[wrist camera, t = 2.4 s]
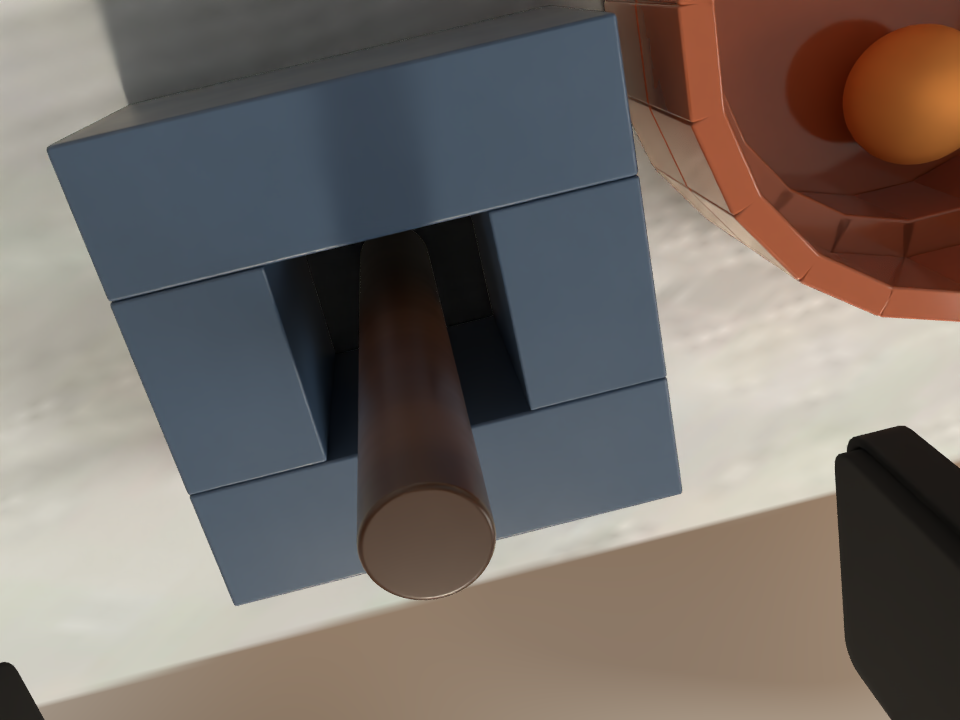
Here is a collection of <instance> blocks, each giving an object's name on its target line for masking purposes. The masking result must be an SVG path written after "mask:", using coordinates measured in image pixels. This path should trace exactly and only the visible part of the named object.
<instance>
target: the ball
mask: <svg viewBox="0 0 960 720" xmlns="http://www.w3.org/2000/svg"><path fill="white" fill-rule="evenodd" d="M843 113H844V118H845V122H846V125H847V127H848V130H849V131H850V133H851V135H852V137H853V138H854V140H855V141H856V142H857V143H858V144H859V145H860V146H861V147H862V148H863V149H864V150H865V151H866V152H868V153H869V154H871V155H872V156H874V157H876V158H879V159H881V160H883V161H886V162H890V163H894V164H902V165H914V164H923V163H928V162H931V161H935V160H938V159H940V158H942V157H945V156H947V155H949V154H950V153H952V152H954V151H956V150H957V149H959V148H960V31H958V30H956V29H954V28H951V27H948V26H944V25H938V24H916V25H910V26H907V27H903V28H900V29H897V30H895V31H892V32H890V33H888V34H887V35H885V36H883V37H882V38H880V39H878V40H877V41H876V42H874V43H873V44H872V45H870V46H869V47H868V48H867V49H866V50H865V51H864V52H863V54H862V55H861V56H860V57H859V59H858V60H857V61H856V63H855V64H854V66H853V67H852V69H851V71H850V73H849V75H848V78H847V81H846V84H845V88H844V93H843Z"/></svg>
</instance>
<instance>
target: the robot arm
mask: <svg viewBox="0 0 960 720" xmlns="http://www.w3.org/2000/svg"><path fill="white" fill-rule="evenodd" d="M835 480H836V496H837V514H838V530H839V547H840V561H841V562H840V563H841V581H842V596H843V613H844V631H845V641H846V646H847V650H848V653H849V656H850V659H851V661H852V663H853V665H854V667H855V669H856V670H857V672H858V674H859V675H860V677H861V678H862V679H863V681H864V682H865V684H866V685H867V686H868V688H869V689H870V691H871V692H872V693H873V695H874V696H875V698H876V699H877V700H878V702H879V703H880V704H881V706H882V707H883V709H884V710H885V712H886V713H887V714H888V716H889V717H890V718H891V720H960V468H959V467H957V466H956V465H955V464H954V463H952V462H951V461H950V460H949V459H947V458H946V457H945V456H944V455H942V454H941V453H940V452H939V451H937V450H936V449H935V448H934V447H932V446H931V445H930V444H929V443H928V442H926V441H925V440H924V439H923V438H921V437H920V436H919V435H918V434H916V433H915V432H914V431H913V430H911V429H909V428H908V427H906V426H896V427H892V428H888V429H884V430H880V431H876V432H872V433H868V434H864V435H860V436H856V437H853V438H852V439H851V440H849V443H848V446H847V452H846V453H842V454H839V455H838V456H837V457H836V460H835ZM0 720H44V718H43V716H42V714H41V713H40V711H39V709H38V707H37V705H36V704H35V702H34V700H33V698H32V696H31V695H30V693H29V691H28V689H27V687H26V686H25V684H24V682H23V680H22V678H21V676H20V675H19V673H18V671H17V670H16V668H15V667H14V666H13V665H12V664H10V663H7V662H2V663H0Z"/></svg>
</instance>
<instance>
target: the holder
mask: <svg viewBox="0 0 960 720" xmlns="http://www.w3.org/2000/svg"><path fill="white" fill-rule="evenodd" d="M47 153H48V155H49V158H50V160H51V163H52V165H53V168H54V170H55V172H56V175H57V177H58V180H59V182H60V184H61V187H62V189H63V192H64V194H65V197H66V199H67V201H68V204H69V206H70V209H71V211H72V214H73V216H74V218H75V221H76V223H77V226H78V228H79V230H80V233H81V235H82V238H83V240H84V243H85V245H86V247H87V250H88V252H89V255H90V257H91V259H92V262H93V264H94V267H95V269H96V272H97V274H98V276H99V279H100V281H101V284H102V286H103V288H104V291H105V293H106V296H107V298H108V300H109V301H112V303H111V309H112V311H113V313H114V316H115V318H116V321H117V323H118V326H119V328H120V330H121V333H122V335H123V338H124V340H125V342H126V345H127V347H128V350H129V352H130V355H131V357H132V359H133V362H134V364H135V367H136V369H137V372H138V374H139V376H140V379H141V381H142V384H143V386H144V388H145V391H146V393H147V396H148V398H149V401H150V403H151V405H152V408H153V410H154V413H155V415H156V417H157V420H158V422H159V425H160V427H161V430H162V432H163V434H164V437H165V439H166V442H167V444H168V446H169V449H170V451H171V454H172V456H173V459H174V461H175V463H176V466H177V468H178V471H179V473H180V475H181V478H182V480H183V483H184V485H185V488H186V490H187V492H188V494H189V495H190V499H191V502H192V504H193V506H194V509H195V511H196V514H197V516H198V519H199V521H200V523H201V526H202V528H203V531H204V533H205V536H206V538H207V540H208V543H209V545H210V548H211V550H212V552H213V555H214V557H215V560H216V562H217V565H218V567H219V569H220V572H221V574H222V577H223V579H224V581H225V584H226V586H227V589H228V591H229V594H230V596H231V598H232V601H233V603H234V605H235V606H238V605H242V604H246V603H250V602H254V601H258V600H262V599H266V598H270V597H274V596H278V595H282V594H286V593H290V592H294V591H298V590H302V589H305V588H309V587H313V586H317V585H321V584H325V583H329V582H333V581H337V580H341V579H345V578H349V577H353V576H357V575H361V574H365V573H366V571H365V570H364V568H363V566H362V564H361V562H360V560H359V556H358V552H357V470H358V384H359V349H355V350H351V351H347V352H343V353H339V354H335V350H334V347H333V343H332V340H331V337H330V334H329V330H328V327H327V324H326V321H325V317H324V314H323V311H322V308H321V304H320V301H319V298H318V295H317V291H316V288H315V285H314V282H313V278H312V275H311V272H310V269H309V265H308V262H307V259H306V256H305V255H308V254H313V253H317V252H321V251H325V250H329V249H333V248H337V247H342V246H346V245H350V244H354V243H358V242H362V241H366V240H370V239H375V238H379V237H383V236H387V235H391V234H395V233H399V232H403V231H408V230H412V229H416V228H420V227H424V226H428V225H432V224H437V223H441V222H445V221H449V220H453V219H457V218H461V217H465V216H470V215H471V219H472V223H473V228H474V232H475V237H476V241H477V246H478V250H479V255H480V259H481V264H482V268H483V273H484V277H485V282H486V286H487V291H488V295H489V300H490V304H491V309H492V313H493V316H490V317H486V318H482V319H478V320H474V321H469V322H465V323H461V324H457V325H453V326H449V327H447V331H448V335H449V339H450V343H451V347H452V351H453V356H454V360H455V364H456V368H457V372H458V376H459V380H460V384H461V388H462V392H463V397H464V401H465V405H466V409H467V413H468V417H469V421H470V425H471V429H472V433H473V437H474V442H475V446H476V450H477V454H478V458H479V462H480V466H481V470H482V474H483V478H484V483H485V487H486V491H487V495H488V499H489V503H490V507H491V511H492V515H493V519H494V524H495V529H496V540H500V539H503V538H507V537H511V536H515V535H519V534H523V533H527V532H531V531H535V530H539V529H543V528H547V527H551V526H555V525H559V524H563V523H567V522H571V521H575V520H579V519H583V518H587V517H591V516H595V515H599V514H603V513H606V512H610V511H614V510H618V509H622V508H626V507H630V506H634V505H638V504H642V503H646V502H650V501H654V500H658V499H662V498H666V497H670V496H674V495H678V494H681V493H682V484H681V477H680V470H679V463H678V455H677V448H676V441H675V434H674V427H673V419H672V412H671V405H670V398H669V390H668V383H667V379H666V367H665V360H664V353H663V345H662V338H661V331H660V324H659V317H658V309H657V302H656V295H655V288H654V280H653V273H652V266H651V259H650V252H649V244H648V237H647V230H646V223H645V215H644V208H643V201H642V194H641V187H640V179H639V177H638V176H637V175H636V174H637V172H638V168H637V160H636V153H635V146H634V139H633V132H632V124H631V117H630V110H629V103H628V96H627V88H626V81H625V74H624V67H623V60H622V52H621V45H620V38H619V31H618V23H617V16H616V15H615V13H611V12H602V11H593V10H584V9H575V8H566V7H556V6H545V7H541V8H536V9H532V10H528V11H524V12H520V13H515V14H511V15H507V16H503V17H498V18H494V19H490V20H486V21H481V22H477V23H473V24H469V25H464V26H460V27H456V28H452V29H447V30H443V31H439V32H435V33H431V34H426V35H422V36H418V37H414V38H409V39H405V40H401V41H397V42H392V43H388V44H384V45H380V46H375V47H371V48H367V49H363V50H359V51H354V52H350V53H346V54H342V55H337V56H333V57H329V58H325V59H320V60H316V61H312V62H308V63H303V64H299V65H295V66H291V67H286V68H282V69H278V70H274V71H270V72H265V73H261V74H257V75H253V76H248V77H244V78H240V79H236V80H231V81H227V82H223V83H219V84H214V85H210V86H206V87H202V88H198V89H193V90H189V91H185V92H181V93H176V94H172V95H168V96H164V97H159V98H155V99H151V100H147V101H142V102H138V103H134V104H130V105H128V106H126V107H124V108H122V109H120V110H118V111H116V112H114V113H112V114H110V115H108V116H106V117H104V118H102V119H100V120H98V121H96V122H94V123H92V124H91V125H89V126H87V127H85V128H83V129H81V130H79V131H77V132H75V133H73V134H71V135H69V136H67V137H65V138H63V139H61V140H59V141H57V142H55V143H53V144H51V145H50V146H48V147H47Z"/></svg>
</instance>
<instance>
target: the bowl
mask: <svg viewBox="0 0 960 720" xmlns="http://www.w3.org/2000/svg"><path fill="white" fill-rule="evenodd" d="M604 8H605V12H611V13H615V15H616V16H617V23H618V31H619V38H620V45H621V52H622V60H623V67H624V74H625V81H626V88H627V96H628V103H629V110H630V117H631V123H632V125H633V127H634V129H635V131H636V133H637V135H638V137H639V139H640V141H641V143H642V145H643V147H644V149H645V152H646V154H647V156H648V158H649V160H650V162H651V164H652V165H653V166H654V168H655V169H656V170H657V171H658V172H659V173H660V174H661V175H662V176H663V177H664V178H665V179H666V180H667V181H668V182H669V183H670V184H671V185H672V186H673V187H674V188H675V189H676V190H677V191H678V192H679V193H680V194H681V195H682V196H683V197H684V198H685V199H686V200H687V201H688V202H689V203H690V204H692V205H693V206H694V207H695V208H696V209H697V210H698V211H699V212H700V213H701V214H702V215H703V216H704V217H705V218H706V219H707V220H709V221H710V222H712V223H713V224H715V225H716V226H718V227H719V228H721V229H722V230H724V231H725V232H726V233H728V234H729V235H731V236H732V237H734V238H735V239H737V240H738V241H740V242H741V243H743V244H744V245H746V246H747V247H749V248H750V249H752V250H753V251H755V252H756V253H757V254H759V255H760V256H762V257H763V258H765V259H766V260H768V261H769V262H771V263H772V264H774V265H775V266H777V267H778V268H780V269H781V270H782V271H784V272H785V273H787V274H788V275H790V276H791V277H793V278H794V279H796V280H797V281H799V282H800V283H802V284H804V285H807V286H809V287H811V288H814V289H816V290H818V291H821V292H823V293H825V294H827V295H830V296H832V297H834V298H837V299H839V300H841V301H844V302H846V303H848V304H851V305H853V306H855V307H857V308H860V309H862V310H864V311H867V312H869V313H871V314H874V315H876V316H881V317H890V318H906V319H923V320H940V321H957V322H960V148H959V149H957V150H956V151H954V152H952V153H950V154H949V155H947V156H945V157H942V158H940V159H938V160H935V161H931V162H928V163H923V164H914V165H902V164H894V163H890V162H886V161H883V160H881V159H879V158H876V157H874V156H872V155H871V154H869V153H868V152H866V151H865V150H864V149H863V148H862V147H861V146H860V145H859V144H858V143H857V142H856V141H855V140H854V138H853V137H852V135H851V133H850V131H849V130H848V127H847V125H846V122H845V118H844V113H843V93H844V88H845V84H846V81H847V78H848V75H849V73H850V71H851V69H852V67H853V66H854V64H855V63H856V61H857V60H858V59H859V57H860V56H861V55H862V54H863V52H864V51H865V50H866V49H867V48H868V47H869V46H870V45H872V44H873V43H874V42H876V41H877V40H878V39H880V38H882V37H883V36H885V35H887V34H888V33H890V32H892V31H895V30H897V29H900V28H903V27H907V26H910V25H916V24H938V25H944V26H948V27H951V28H954V29H956V30H958V31H960V0H605V2H604Z"/></svg>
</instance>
